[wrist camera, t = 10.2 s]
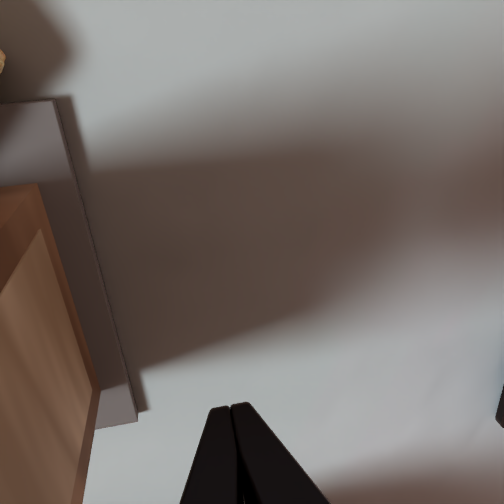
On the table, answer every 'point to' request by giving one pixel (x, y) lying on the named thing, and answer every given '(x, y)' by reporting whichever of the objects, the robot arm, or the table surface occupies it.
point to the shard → (2, 60)
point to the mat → (68, 241)
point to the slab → (40, 363)
